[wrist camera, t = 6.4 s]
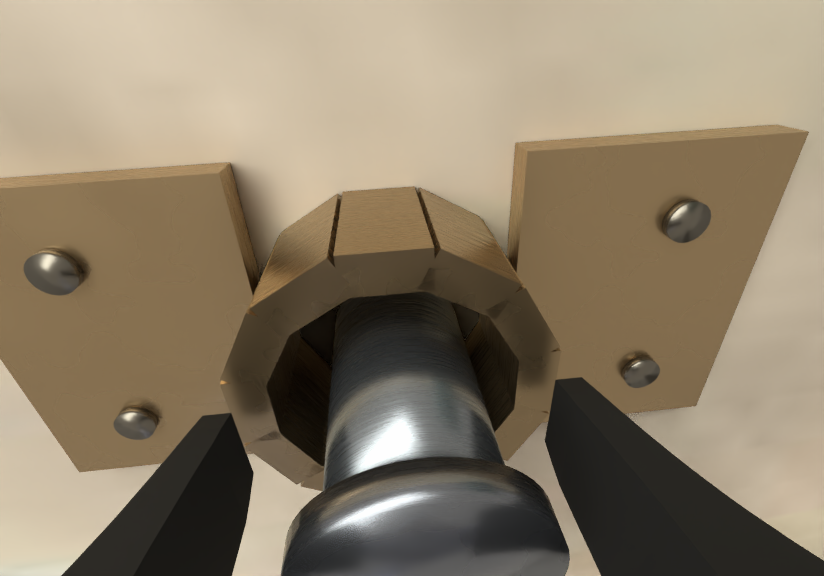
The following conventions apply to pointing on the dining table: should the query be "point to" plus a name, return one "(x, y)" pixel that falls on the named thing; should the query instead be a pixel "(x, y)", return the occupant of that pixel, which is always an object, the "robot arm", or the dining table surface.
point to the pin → (416, 460)
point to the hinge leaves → (377, 289)
